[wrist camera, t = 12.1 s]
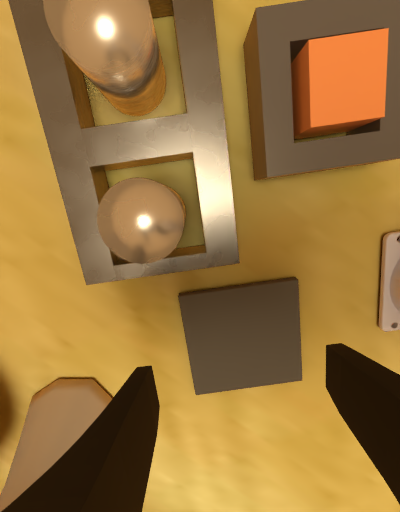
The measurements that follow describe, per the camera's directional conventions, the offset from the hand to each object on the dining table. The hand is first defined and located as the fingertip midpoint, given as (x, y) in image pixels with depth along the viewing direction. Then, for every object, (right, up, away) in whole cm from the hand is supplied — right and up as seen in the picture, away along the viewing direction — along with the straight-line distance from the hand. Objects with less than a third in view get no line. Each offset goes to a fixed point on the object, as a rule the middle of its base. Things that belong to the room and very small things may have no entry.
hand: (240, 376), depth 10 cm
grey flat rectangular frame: (-5, +12, +6) cm, 14 cm away
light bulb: (-6, +16, +5) cm, 18 cm away
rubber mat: (+2, -2, +10) cm, 10 cm away
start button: (+6, +14, +5) cm, 16 cm away
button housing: (+6, +15, +6) cm, 17 cm away
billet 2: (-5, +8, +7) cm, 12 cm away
